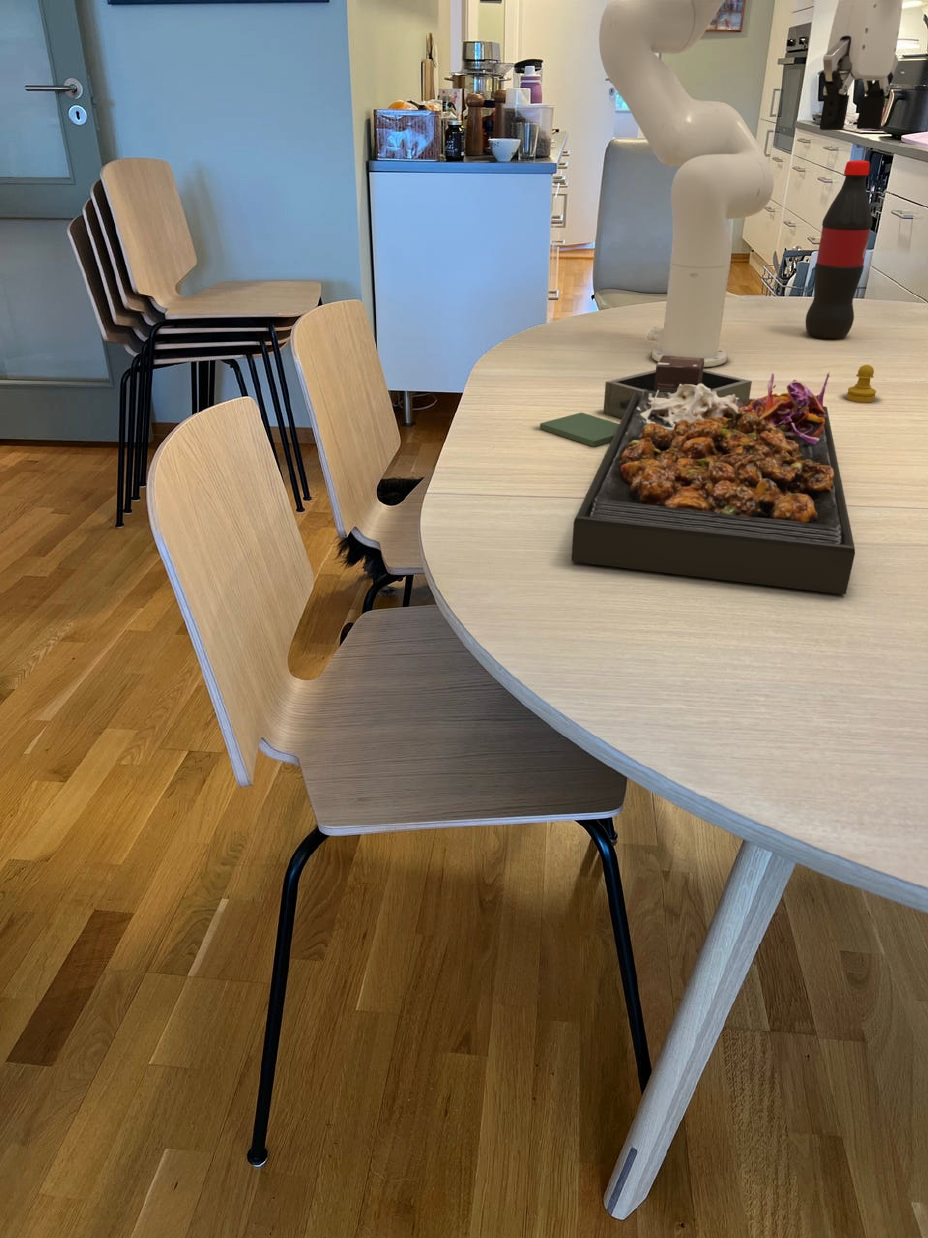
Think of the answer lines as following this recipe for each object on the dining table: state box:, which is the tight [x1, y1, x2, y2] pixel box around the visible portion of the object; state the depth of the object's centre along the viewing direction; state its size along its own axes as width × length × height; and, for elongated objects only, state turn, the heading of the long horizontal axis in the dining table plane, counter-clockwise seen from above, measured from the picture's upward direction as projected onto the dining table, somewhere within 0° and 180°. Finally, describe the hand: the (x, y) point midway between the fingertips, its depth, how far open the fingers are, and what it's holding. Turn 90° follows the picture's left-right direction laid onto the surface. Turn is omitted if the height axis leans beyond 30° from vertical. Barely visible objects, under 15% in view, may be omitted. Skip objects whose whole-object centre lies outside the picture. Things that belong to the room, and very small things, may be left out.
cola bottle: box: [805, 159, 873, 340], centre depth 168 cm, size 8×8×30 cm
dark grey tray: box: [602, 369, 753, 420], centre depth 130 cm, size 13×16×4 cm
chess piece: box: [846, 364, 877, 403], centre depth 136 cm, size 4×4×5 cm
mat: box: [539, 411, 620, 448], centre depth 123 cm, size 10×8×1 cm
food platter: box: [570, 371, 856, 595], centre depth 101 cm, size 45×25×10 cm, turn 164°
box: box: [654, 355, 705, 393], centre depth 129 cm, size 6×6×7 cm
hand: (850, 129), depth 125 cm, fingers open, 9 cm apart
